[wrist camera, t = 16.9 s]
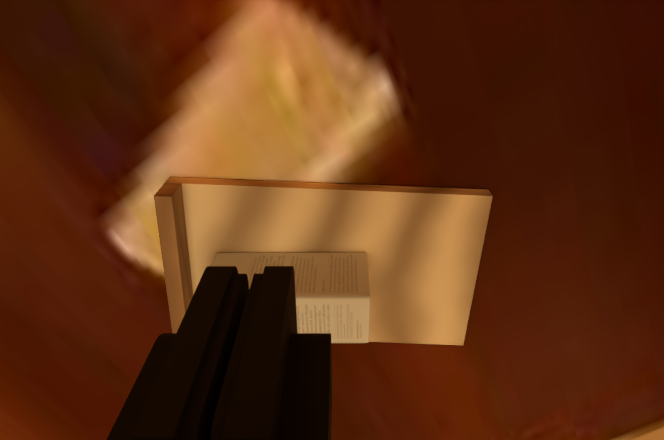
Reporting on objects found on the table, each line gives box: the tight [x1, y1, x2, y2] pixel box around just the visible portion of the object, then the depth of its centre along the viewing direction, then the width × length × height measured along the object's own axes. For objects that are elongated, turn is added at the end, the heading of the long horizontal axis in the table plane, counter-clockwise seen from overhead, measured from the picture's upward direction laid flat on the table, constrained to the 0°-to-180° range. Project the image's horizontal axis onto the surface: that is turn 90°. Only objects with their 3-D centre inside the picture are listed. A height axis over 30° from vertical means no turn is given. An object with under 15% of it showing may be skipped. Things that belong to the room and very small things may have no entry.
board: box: [154, 177, 493, 345], centre depth 39 cm, size 24×14×4 cm, turn 88°
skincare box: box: [210, 253, 371, 343], centre depth 37 cm, size 6×4×12 cm
